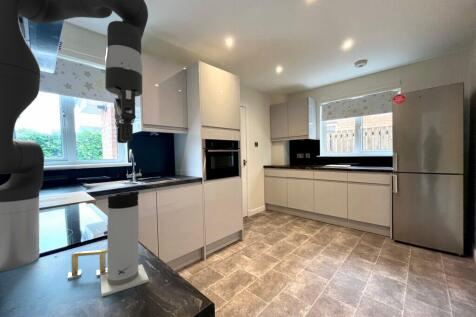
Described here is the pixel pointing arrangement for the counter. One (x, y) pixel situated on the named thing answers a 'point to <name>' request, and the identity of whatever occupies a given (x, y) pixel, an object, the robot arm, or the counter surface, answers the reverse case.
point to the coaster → (110, 288)
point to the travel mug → (122, 238)
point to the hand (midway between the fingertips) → (124, 142)
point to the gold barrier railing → (102, 253)
